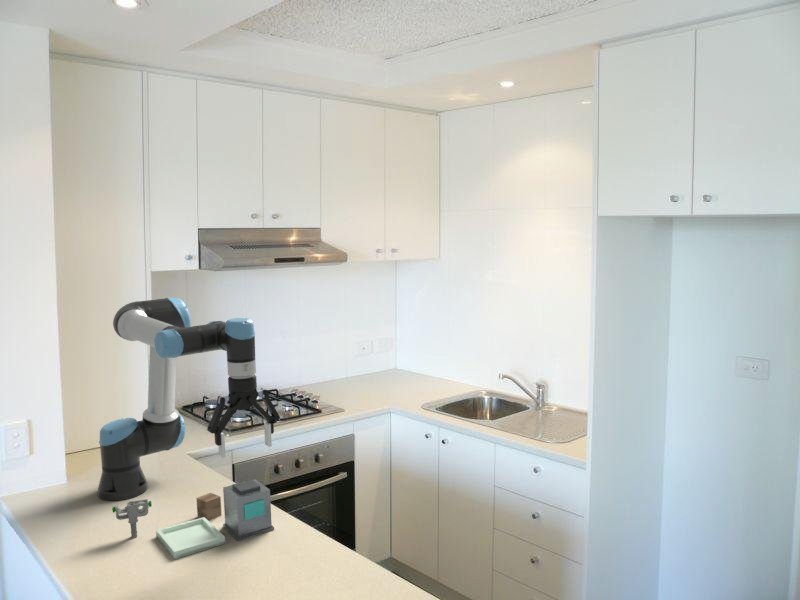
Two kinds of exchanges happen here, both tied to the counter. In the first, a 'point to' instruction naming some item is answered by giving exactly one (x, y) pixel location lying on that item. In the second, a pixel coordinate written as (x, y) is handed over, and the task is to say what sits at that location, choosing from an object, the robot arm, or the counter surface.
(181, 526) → the tray
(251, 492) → the unit
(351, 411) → the counter surface
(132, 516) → the mechanical component
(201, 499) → the walnut block
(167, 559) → the counter surface
